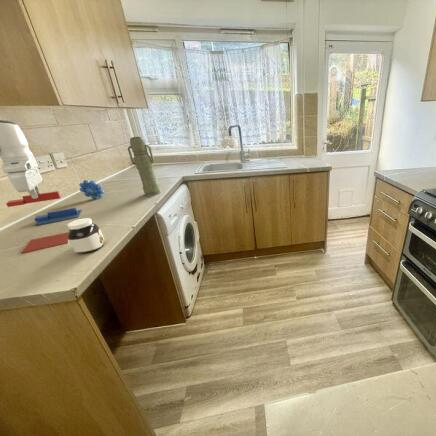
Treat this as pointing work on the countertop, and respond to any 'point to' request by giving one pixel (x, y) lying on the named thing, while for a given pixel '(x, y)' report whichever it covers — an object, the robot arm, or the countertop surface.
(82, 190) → the blue gear
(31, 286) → the countertop surface
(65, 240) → the terracotta mat
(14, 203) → the red stepped bar
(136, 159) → the thermos
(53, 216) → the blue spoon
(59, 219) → the slate-blue mat
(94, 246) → the spread jar
